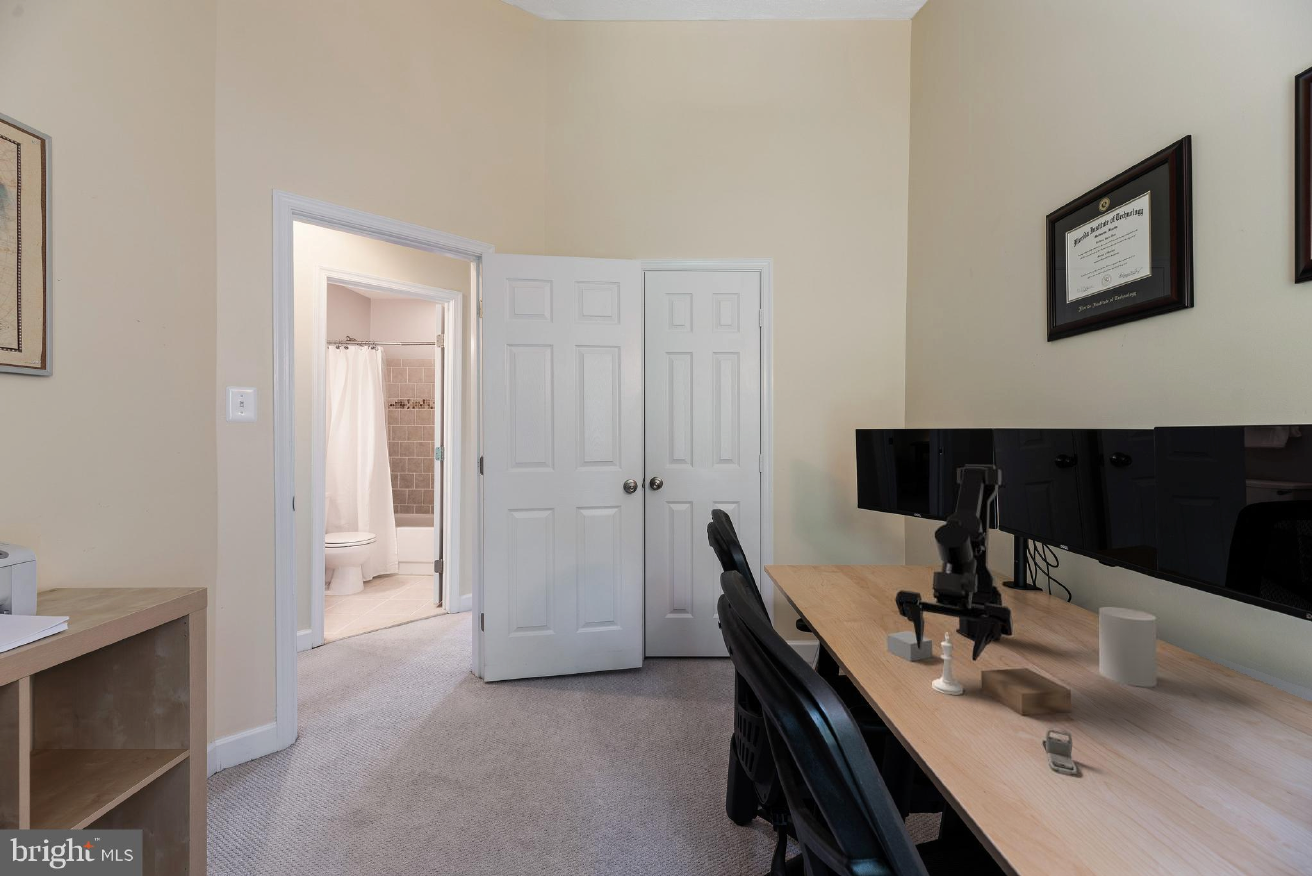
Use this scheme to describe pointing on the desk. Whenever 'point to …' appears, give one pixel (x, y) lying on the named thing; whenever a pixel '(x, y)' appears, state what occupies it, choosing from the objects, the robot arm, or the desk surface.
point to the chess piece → (947, 672)
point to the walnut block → (1026, 691)
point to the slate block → (908, 646)
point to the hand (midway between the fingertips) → (945, 653)
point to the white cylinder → (1127, 646)
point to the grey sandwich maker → (1059, 753)
